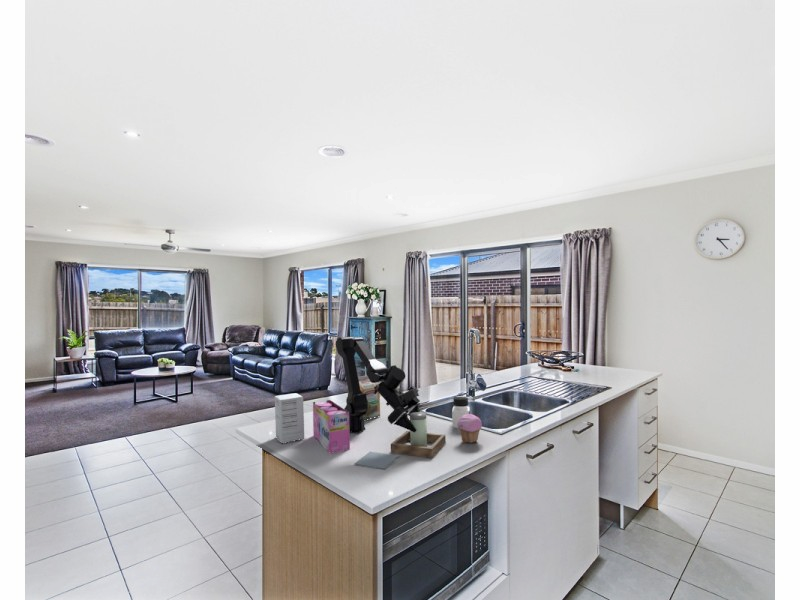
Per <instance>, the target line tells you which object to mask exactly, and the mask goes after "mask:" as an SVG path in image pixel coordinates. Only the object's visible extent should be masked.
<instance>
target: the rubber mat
mask: <svg viewBox="0 0 800 600" xmlns="http://www.w3.org/2000/svg"><path fill="white" fill-rule="evenodd" d="M399 457H400V454H399V455H398V454H390V453H383V452H377V451H376V452H375V451H368V452H367V453H366V454H365V455H364V456H362V457H361V458H360V459H358V460H357V461H356V462H354V463H353V464H354V466H358V467H366V468H373V469H380V470H386V469H387V468H389V466H390V465H392V464H393V463H394V462H395V461H396V460H398V458H399Z"/></svg>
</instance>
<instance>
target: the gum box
mask: <svg viewBox="0 0 800 600" xmlns="http://www.w3.org/2000/svg"><path fill="white" fill-rule="evenodd" d="M312 423H313V424H312V425H313V426H312V429H313V430H312V431H313V433H312V434H313V437H314V438H315V437H316V438H317V439H318V440H319V441H320V442H321V443H320V442H319V441H318V440H317V439H316V438H315V439H316V440H317V441H318V442H319V443H320V444H321V445H322V446H323V448H324V449H325V448H326V449H327V450H328V451H329V452H330V453H329V452H328V451H327V450H326V449H325V450H326V451H327V452H328V453H329V454H332V452H334V453H338V452H337V451H339V452H344V451H348V450H350V449H351V444H350V443H351V440H350V439H351V437H350V435H351V432H350V429H349V412H348V411H347V410H345V409H344V407H342V406H340V405H339V404H338V403H335V402H334V401H332V400H331V399H327V400H326V402H325V401H323V402H322V401H321V402H315V401H313V402H312ZM343 450H344V451H343Z"/></svg>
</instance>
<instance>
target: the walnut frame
mask: <svg viewBox="0 0 800 600" xmlns="http://www.w3.org/2000/svg"><path fill="white" fill-rule="evenodd" d="M408 441H411V440H410V430H406V431H404V433H402V434H401V435H400V436H398V437H397V438H395V440H394V441H392V442H391V443H390V453H393V454H397V455H398V454H399V455H408V456H413V457H414V456H415V457H422V458H429V457H431V459H433V458H434V457H435V456H436V455H435V454H437V453H439V451H440V450H441V449H442V447H444V445H446V442H447V441H446V434H443V433H441V434H440V433H432V432H427V443H432V444H431V446H430V447H429V446H427V447H422V446H414V445H411V444H406V443H407V442H408Z"/></svg>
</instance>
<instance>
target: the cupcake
mask: <svg viewBox="0 0 800 600" xmlns="http://www.w3.org/2000/svg"><path fill="white" fill-rule="evenodd" d="M458 427H459V428H458V429H459V430H460V436H461V441H462V443H463V442H464V443H467V442H469V443H468V444H473V443H474V442H477V441H478V439H479V434H480V431H481V429H482V427H483V424H482V420H481V419H480V417H478V416H477V415H475V414H472V413H470V414H466V415H463V416H462V417H461V418H460V419H459V421H458Z"/></svg>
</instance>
